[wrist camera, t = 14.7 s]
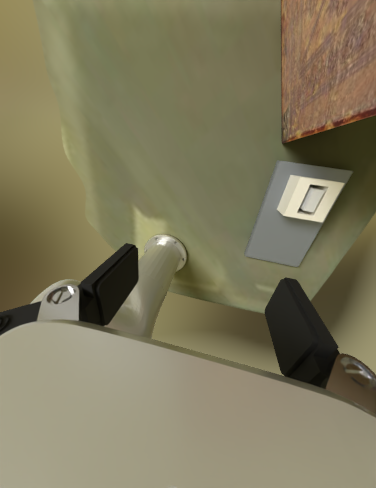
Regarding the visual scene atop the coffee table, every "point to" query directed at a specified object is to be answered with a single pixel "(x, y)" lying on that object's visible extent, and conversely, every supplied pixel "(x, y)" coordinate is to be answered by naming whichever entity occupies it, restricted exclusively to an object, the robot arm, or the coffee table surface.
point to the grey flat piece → (288, 228)
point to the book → (326, 64)
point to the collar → (297, 192)
